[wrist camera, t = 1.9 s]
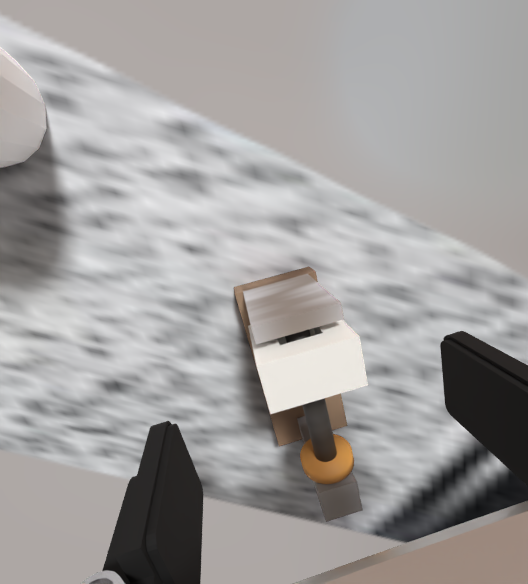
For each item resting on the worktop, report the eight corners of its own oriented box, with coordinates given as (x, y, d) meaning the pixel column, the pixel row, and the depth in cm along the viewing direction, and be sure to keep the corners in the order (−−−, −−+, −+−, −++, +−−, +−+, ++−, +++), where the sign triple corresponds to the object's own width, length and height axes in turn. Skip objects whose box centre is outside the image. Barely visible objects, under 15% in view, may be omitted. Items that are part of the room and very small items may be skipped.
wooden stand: (308, 266, 21) (354, 301, 14) (339, 412, 24) (389, 501, 17) (233, 287, 21) (240, 334, 13) (275, 431, 24) (298, 530, 17)
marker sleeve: (326, 303, 18) (359, 336, 13) (334, 342, 18) (368, 385, 14) (248, 325, 17) (256, 366, 13) (259, 364, 18) (270, 414, 14)
